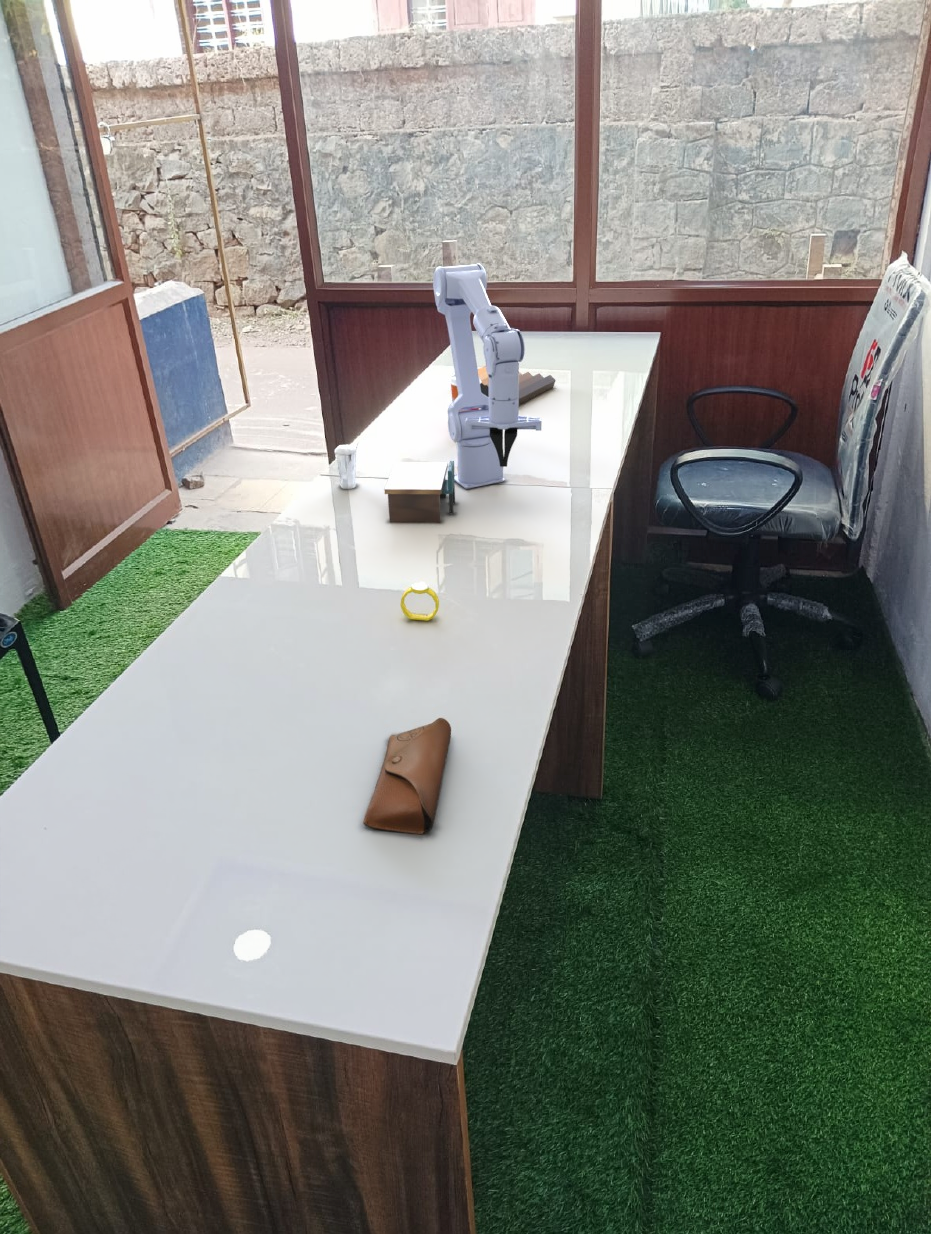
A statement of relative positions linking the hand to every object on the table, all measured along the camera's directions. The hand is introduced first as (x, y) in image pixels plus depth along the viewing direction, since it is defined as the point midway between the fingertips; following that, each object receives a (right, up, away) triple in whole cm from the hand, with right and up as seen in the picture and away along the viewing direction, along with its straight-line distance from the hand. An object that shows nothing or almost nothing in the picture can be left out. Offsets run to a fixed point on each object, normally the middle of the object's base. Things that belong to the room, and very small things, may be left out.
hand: (503, 464), depth 180 cm
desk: (-17, -8, +6) cm, 20 cm away
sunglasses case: (-14, -50, -69) cm, 86 cm away
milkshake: (-32, -2, +17) cm, 37 cm away
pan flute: (+1, +33, +78) cm, 85 cm away
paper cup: (-7, +16, +47) cm, 50 cm away
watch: (-15, -30, -34) cm, 48 cm away
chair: (-14, -8, +5) cm, 17 cm away
